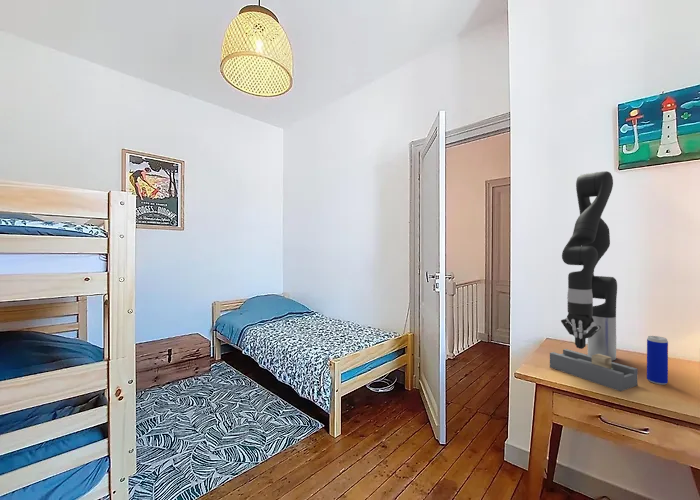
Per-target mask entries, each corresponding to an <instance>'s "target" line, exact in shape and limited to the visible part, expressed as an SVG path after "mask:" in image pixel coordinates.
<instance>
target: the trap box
mask: <svg viewBox="0 0 700 500" xmlns="http://www.w3.org/2000/svg"><path fill="white" fill-rule="evenodd" d="M549 368H551V369H555V370H557V371H559V372H563V373H566V374H568V375H572V376H574V377H576V378H581V379H583V380H586V381H589V382H591V383H595V384H598V385H601V386H604V387H606V388H610V389H612V390H615V391H618V392H623V391H625V390H628V389H632V388H634V387H636V386H638V370H639V369H638V368H636V367H632V366H629V365H625V364H621V363H618V362H614V361H611V369H609V368H605V367H602V366H599V365H595V364H592V356H590V355H588V354H585V353H582V352H578V351H575V350H571V349H568V348H565V349H562V353H557V352H555V351H551V352H549Z"/></svg>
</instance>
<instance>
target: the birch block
mask: <svg viewBox="0 0 700 500" xmlns="http://www.w3.org/2000/svg"><path fill="white" fill-rule="evenodd" d="M611 362H612V361H611V357H609V356H605V355H601V354H595V355H592V364H595V365H599V366H602V367H605V368H609V369H611Z"/></svg>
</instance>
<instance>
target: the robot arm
mask: <svg viewBox="0 0 700 500" xmlns="http://www.w3.org/2000/svg"><path fill="white" fill-rule="evenodd" d="M575 187H576V188H575V190H576V197H577V202H578V203H577V204H578V208H579V209H578V210H579V216H578V217H577V219H576V221H575V223H574V228H573V231H572V235H571V237H570V238H569V240H568V241H567V243H566V245H565V246H564V248H563V250H562V254H561V258H562V261H563V263H564V264H565V265H570V266H583V267H582V269H580V270H578V271H571V272H569V273H568V274H567V275H568V276H567V282H568V283H567V284H568V285H567V286H568V287H567V298H566V299H567V316H566V318H564V319H561V320H560V322H561V324H562V325H563V327H564V328H565V329H566V331H567V332H568V334H569V335H570V336H571V335H572V336H573V337H574V345H575V346H576V347H575V348H577V349H579V350H583V349H585V348H586V342H587V355H590V356H592V355H595V354H601V355H605V356H609V357H611V362H614V361H616V359H617V298H618V297H617V295H618V282H617V279H616V278H615V277H614V276H603V275H601V276H599V275H595V274H594V272H595V268H596V266H597V264H598V263H599V261H601V258H602V257H603V256H604V255H605V254H606V252H607V251H608V249H609V247H610V245H611V238H610V237H611V236H610V227H609V226H608V224H607V223H606V221H605V220H603V218H602V215H603V212H604V210H605V208H606V206H607V203H608V201H609V198H610V196H611V193H612V190H613V187H614V179H613V175H612V174H611V172H610V171H596V172H590V173H589V172H588V173H583V174H582V173H581V174H580V175H578V176H577V177H576V182H575ZM592 197H595V199H594V200H593V201H592V202H591V198H592ZM593 299H598V300H605V301H604V303H602V304H598V305H594V301H593ZM593 305H594V306H593ZM586 340H587V341H586Z"/></svg>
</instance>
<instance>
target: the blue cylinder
mask: <svg viewBox="0 0 700 500" xmlns="http://www.w3.org/2000/svg"><path fill="white" fill-rule="evenodd" d="M646 379H647V381H648V382H650V383H652V384H656V385H663V386H664V385H667V384H668V383H669V341H668V339H667V338H666V337H662V336H659V335H648V336H647V339H646Z"/></svg>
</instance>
